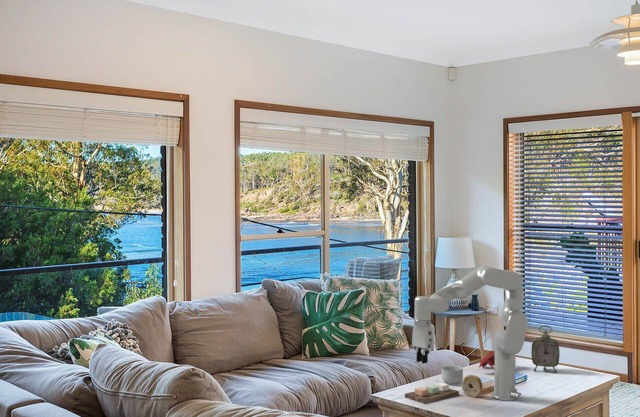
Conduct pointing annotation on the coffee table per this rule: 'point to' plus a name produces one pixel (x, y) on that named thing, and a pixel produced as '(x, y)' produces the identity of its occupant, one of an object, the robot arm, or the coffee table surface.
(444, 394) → the brown tile tray
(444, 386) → the tile cream
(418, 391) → the tile terracotta
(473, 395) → the bagel
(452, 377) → the teacup
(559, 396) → the coffee table surface
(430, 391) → the tile sage
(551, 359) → the tabletop clock
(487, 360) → the decorative bird sculpture
